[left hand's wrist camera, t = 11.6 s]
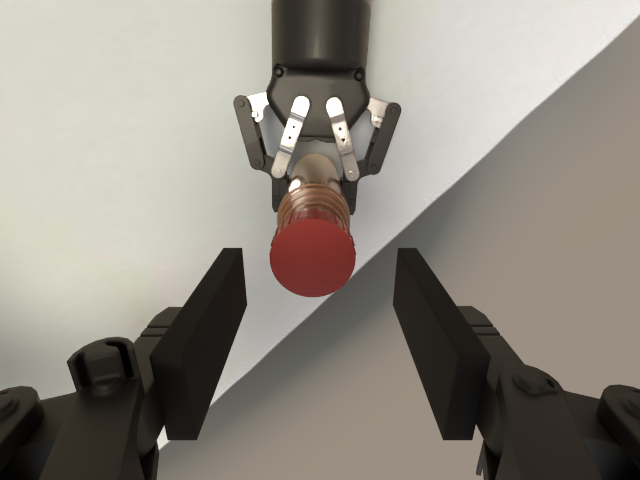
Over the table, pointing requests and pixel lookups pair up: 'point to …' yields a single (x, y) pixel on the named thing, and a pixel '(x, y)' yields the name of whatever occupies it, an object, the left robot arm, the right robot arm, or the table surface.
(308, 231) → the cap
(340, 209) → the bottle
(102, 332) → the table surface
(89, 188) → the table surface
